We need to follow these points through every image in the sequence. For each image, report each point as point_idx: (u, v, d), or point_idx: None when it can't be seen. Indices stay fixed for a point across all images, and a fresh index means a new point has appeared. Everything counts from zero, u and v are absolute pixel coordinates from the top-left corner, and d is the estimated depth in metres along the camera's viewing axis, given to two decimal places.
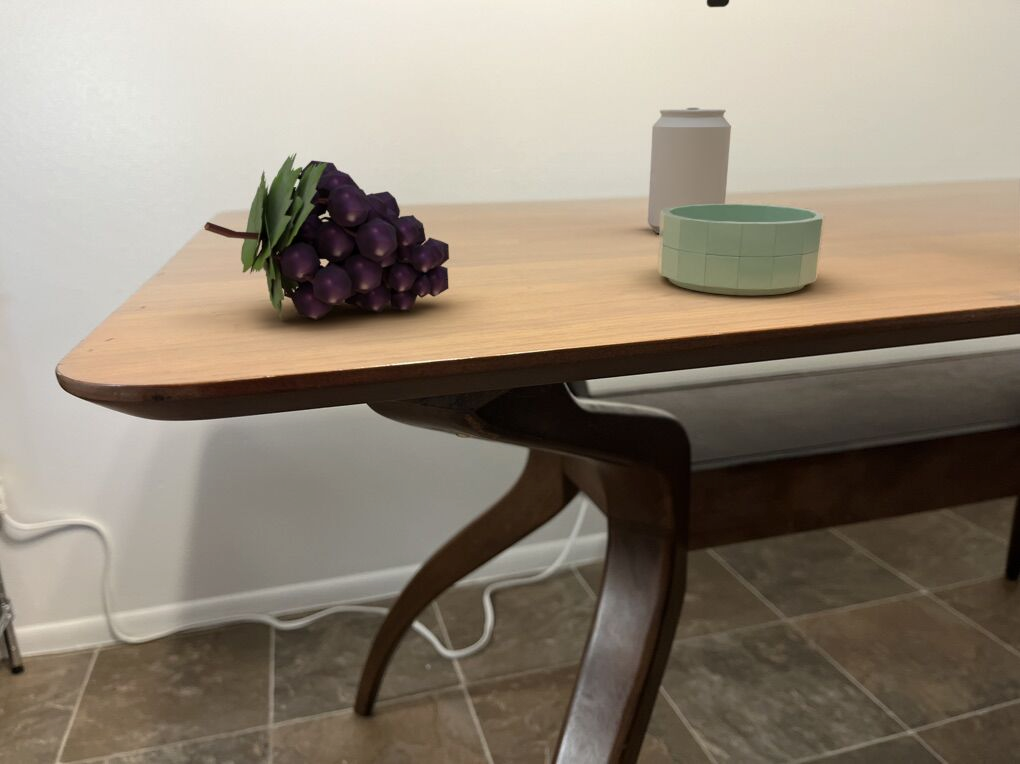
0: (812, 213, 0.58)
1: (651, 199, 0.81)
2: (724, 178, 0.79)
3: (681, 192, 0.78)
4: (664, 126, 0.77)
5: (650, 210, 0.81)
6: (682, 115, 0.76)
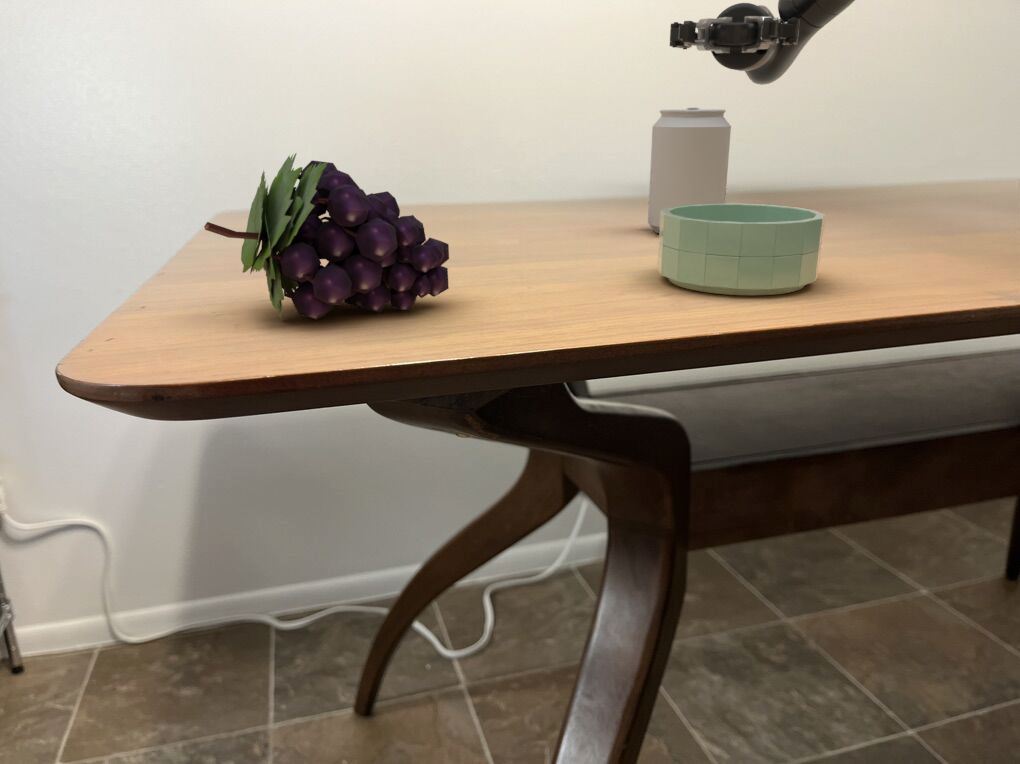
0: (812, 213, 0.58)
1: (651, 199, 0.81)
2: (724, 178, 0.79)
3: (681, 192, 0.78)
4: (664, 126, 0.77)
5: (650, 210, 0.81)
6: (682, 115, 0.76)
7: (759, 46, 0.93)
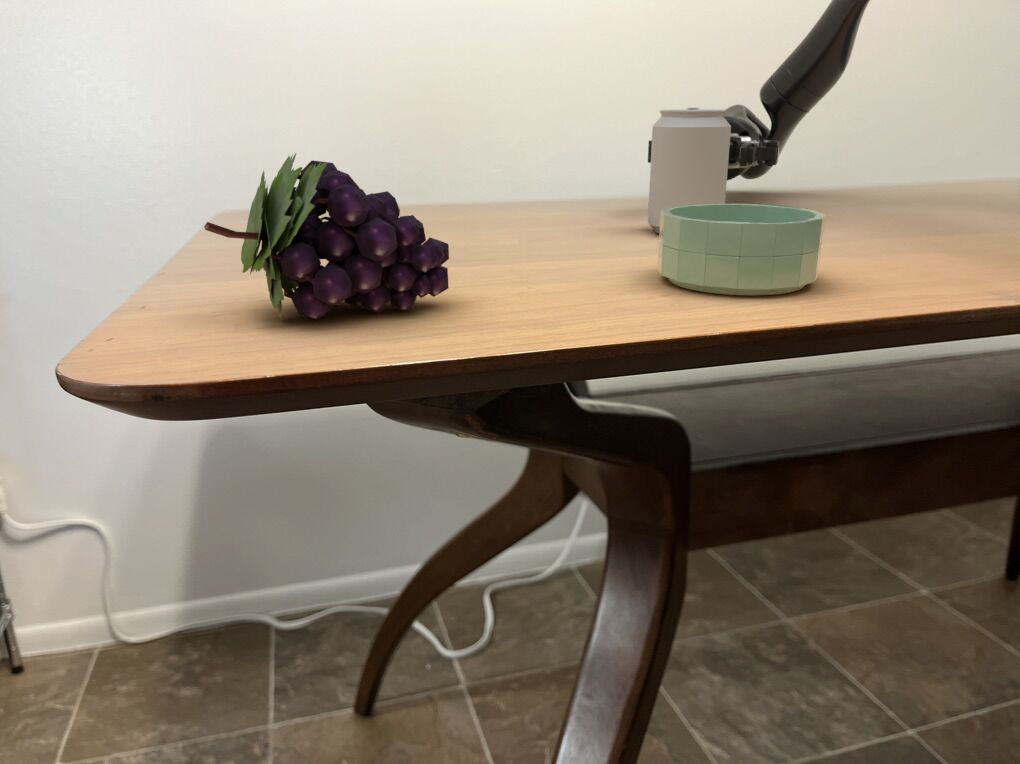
0: (812, 213, 0.58)
1: (651, 199, 0.81)
2: (724, 178, 0.79)
3: (681, 192, 0.78)
4: (664, 126, 0.77)
5: (650, 210, 0.81)
6: (682, 115, 0.76)
7: (738, 166, 0.91)
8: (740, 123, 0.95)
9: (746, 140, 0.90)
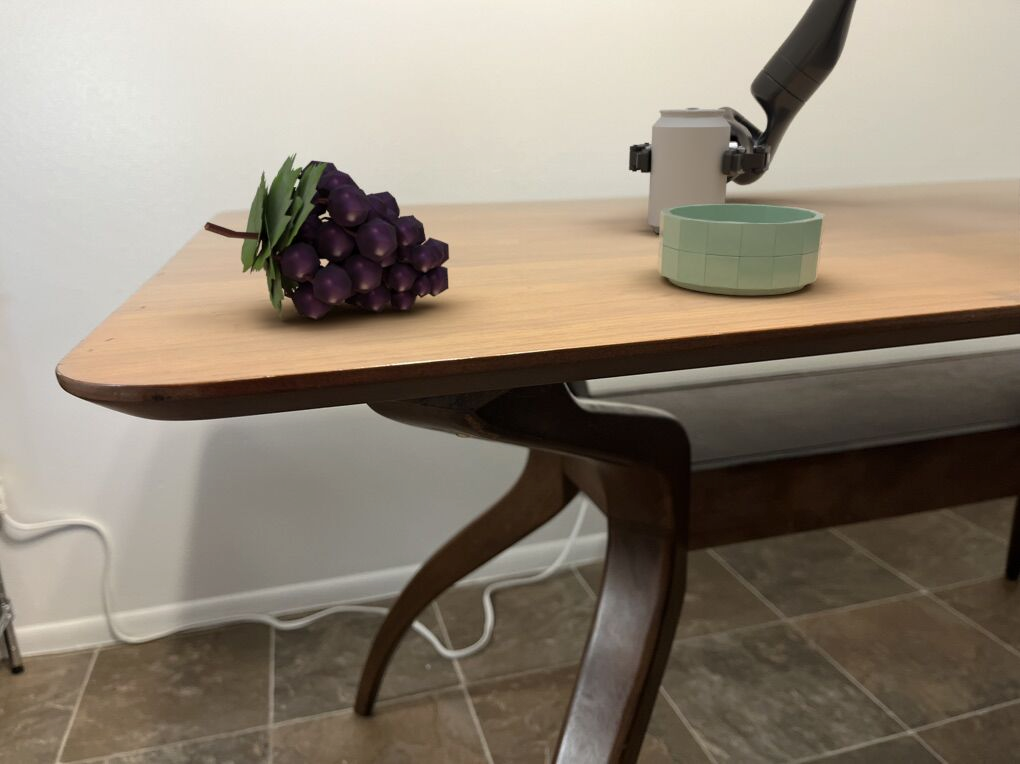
0: (812, 213, 0.58)
1: (651, 199, 0.81)
2: (724, 178, 0.79)
3: (681, 192, 0.78)
4: (663, 126, 0.77)
5: (650, 210, 0.81)
6: (682, 115, 0.76)
7: None
8: None
9: (732, 146, 0.82)
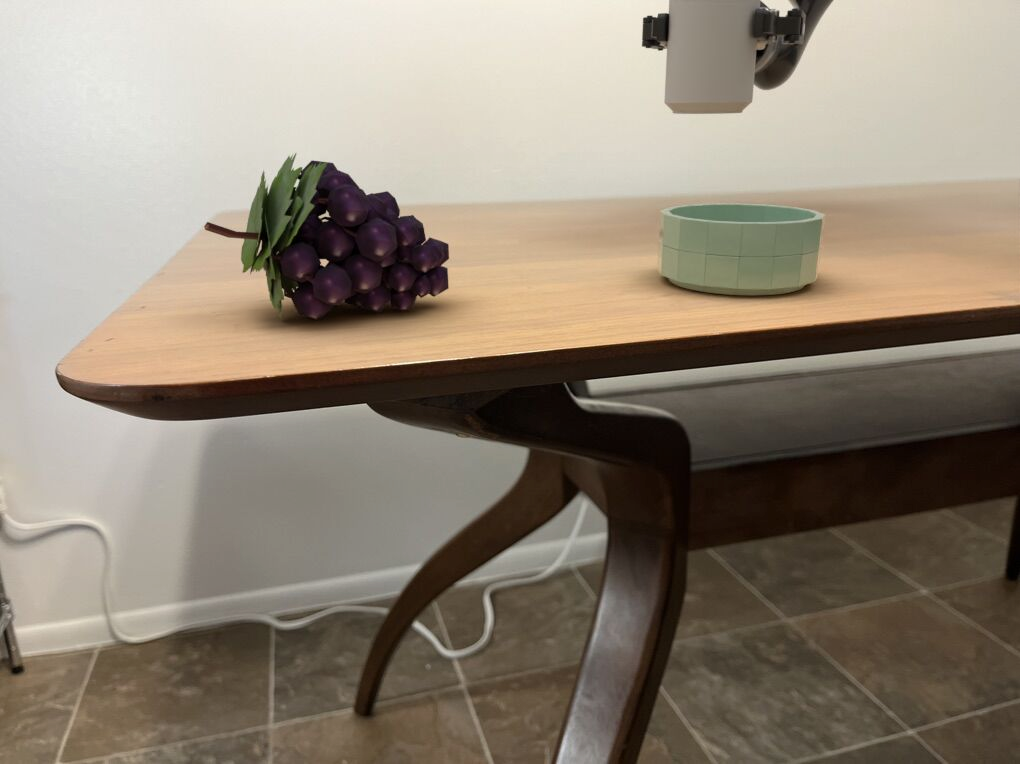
0: (812, 213, 0.58)
1: (668, 72, 0.70)
2: (754, 43, 0.68)
3: (704, 58, 0.67)
4: None
5: (667, 86, 0.70)
6: None
7: None
8: None
9: None
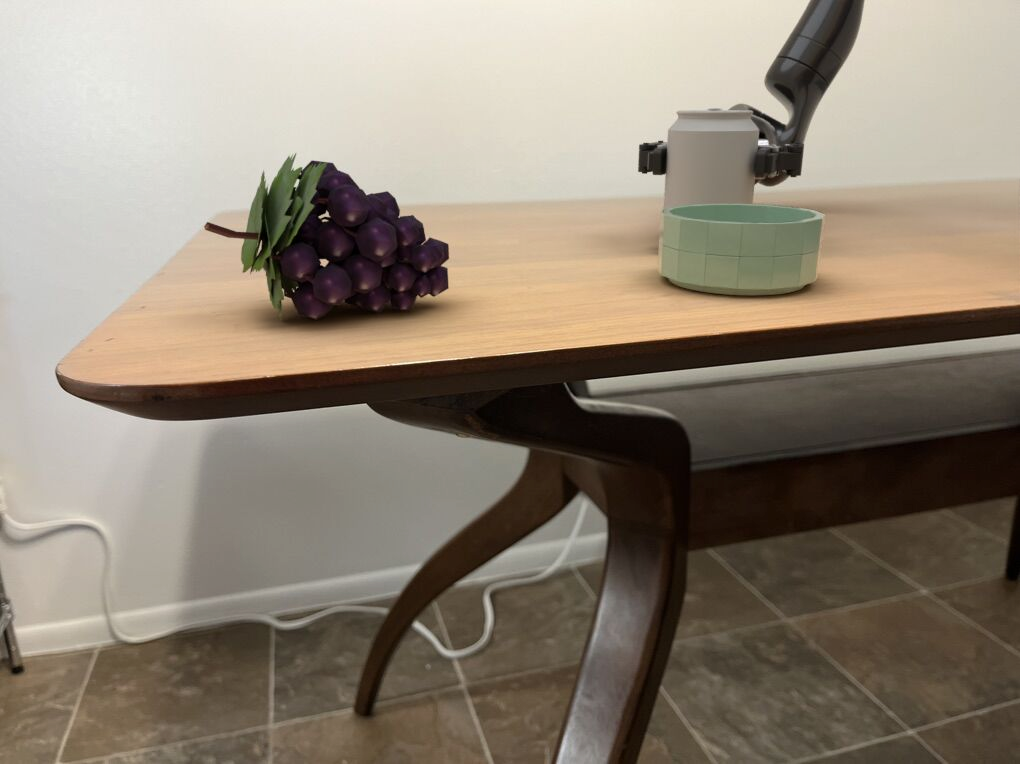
0: (812, 213, 0.58)
1: None
2: (751, 190, 0.68)
3: None
4: (682, 130, 0.67)
5: None
6: (703, 117, 0.66)
7: None
8: (754, 122, 0.76)
9: (762, 144, 0.71)
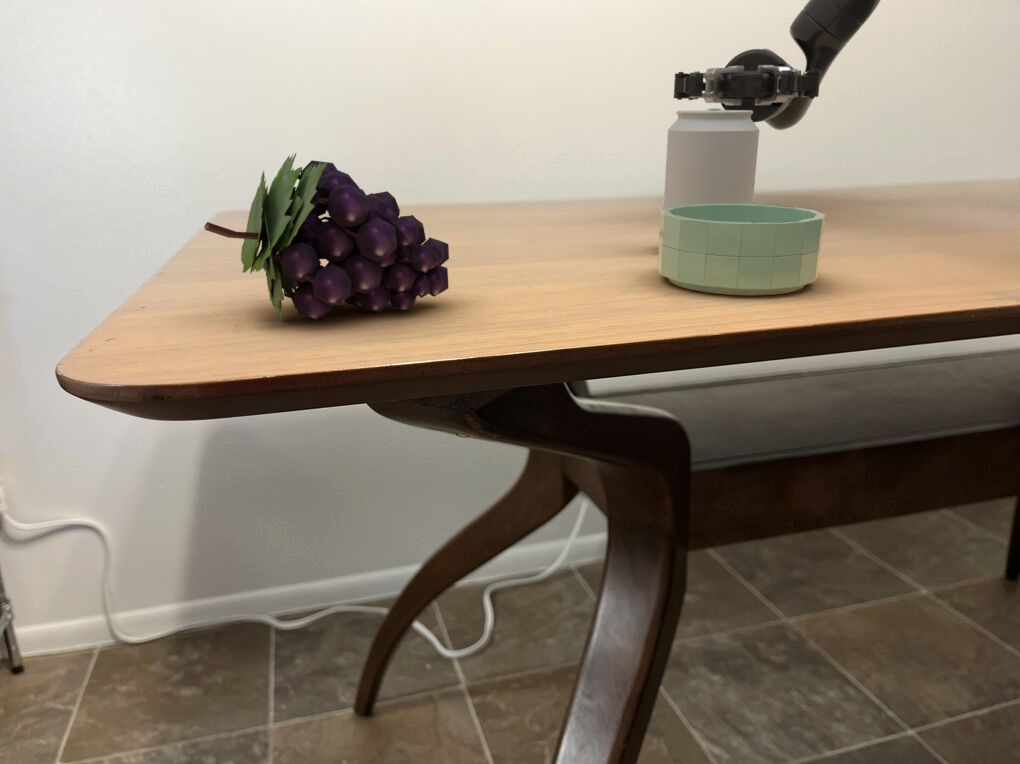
0: (812, 213, 0.58)
1: None
2: (751, 190, 0.68)
3: None
4: (682, 130, 0.67)
5: None
6: (703, 117, 0.66)
7: (775, 99, 0.82)
8: (775, 56, 0.86)
9: (784, 70, 0.81)
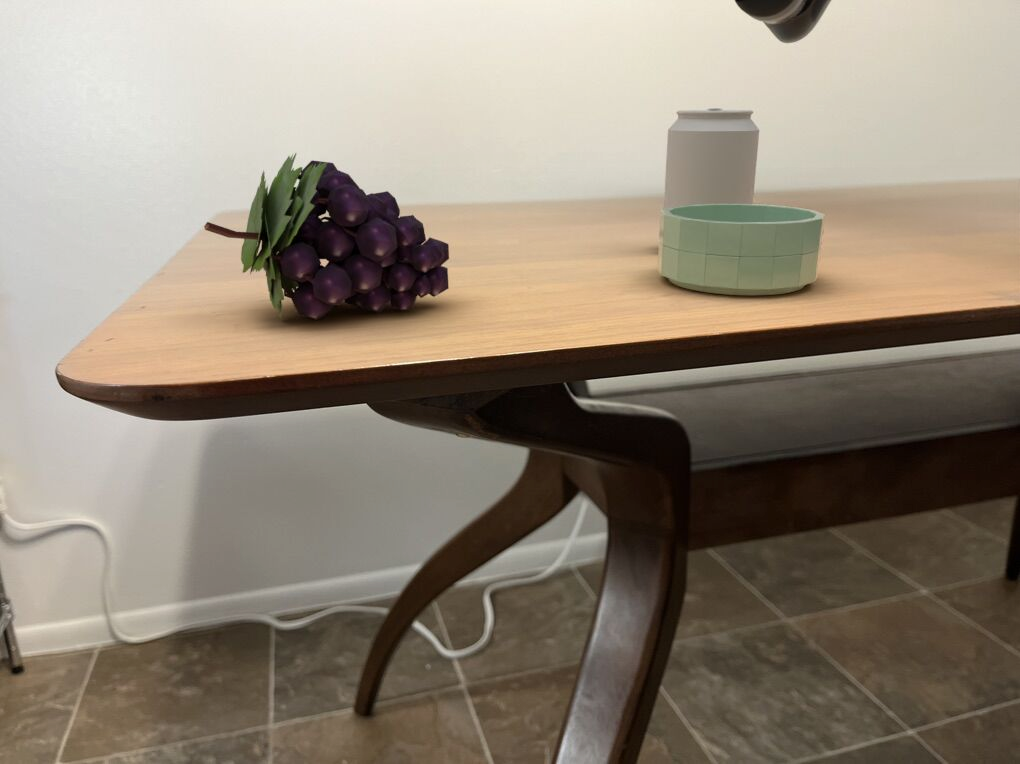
0: (812, 213, 0.58)
1: None
2: (751, 190, 0.68)
3: None
4: (682, 130, 0.67)
5: None
6: (703, 117, 0.66)
7: None
8: None
9: None
